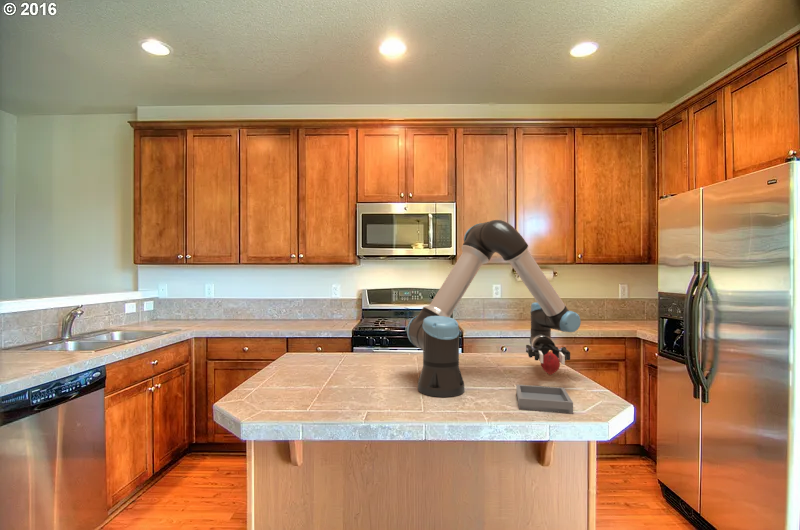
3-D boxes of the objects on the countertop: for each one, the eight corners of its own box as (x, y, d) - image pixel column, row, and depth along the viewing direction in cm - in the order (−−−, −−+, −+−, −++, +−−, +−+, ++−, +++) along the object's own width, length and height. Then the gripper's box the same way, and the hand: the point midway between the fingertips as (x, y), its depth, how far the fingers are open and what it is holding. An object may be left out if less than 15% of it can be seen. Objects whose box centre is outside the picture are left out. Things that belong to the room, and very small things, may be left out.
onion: (558, 378, 120) (558, 352, 121) (539, 375, 123) (539, 350, 124) (561, 374, 125) (561, 349, 125) (542, 371, 128) (542, 347, 129)
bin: (573, 413, 103) (573, 402, 103) (519, 409, 107) (519, 398, 107) (564, 397, 117) (563, 387, 117) (516, 394, 120) (516, 384, 120)
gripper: (570, 358, 140) (585, 373, 117) (517, 354, 144) (521, 369, 122) (570, 337, 140) (585, 349, 117) (517, 335, 144) (521, 345, 122)
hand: (552, 359), depth 119 cm, fingers closed on onion, 6 cm apart
